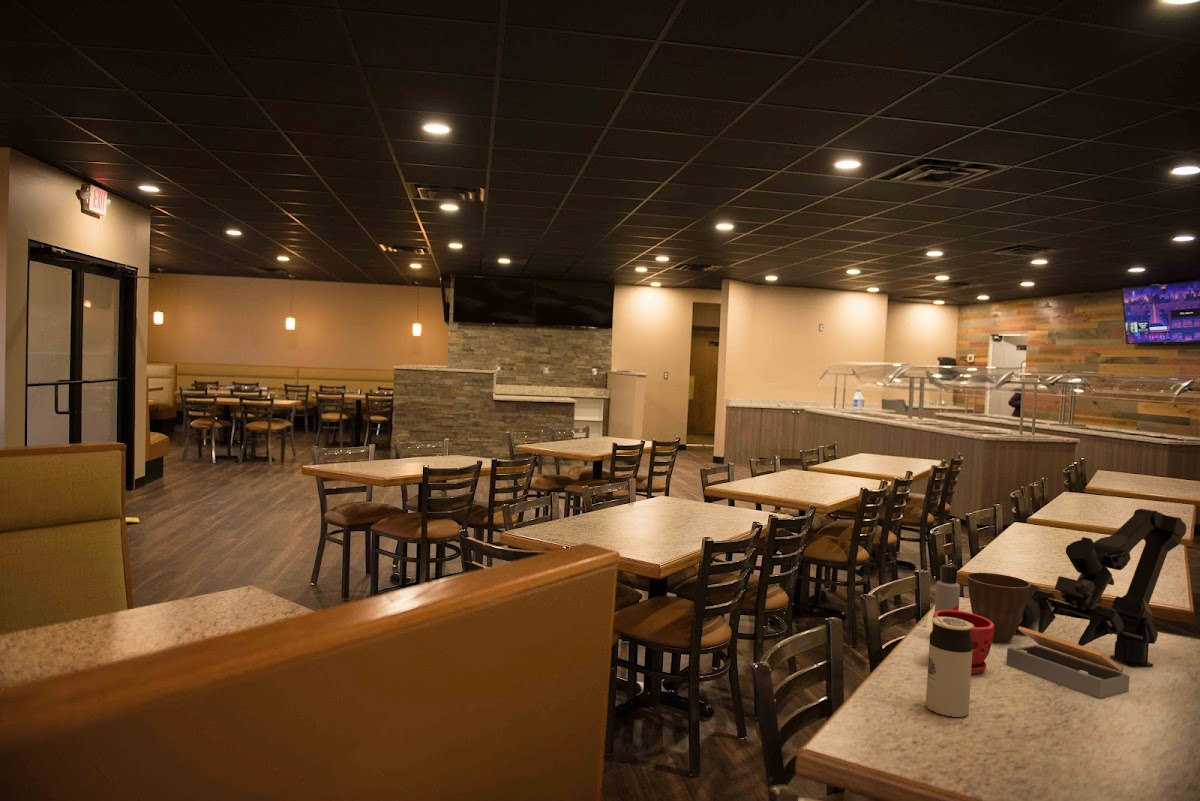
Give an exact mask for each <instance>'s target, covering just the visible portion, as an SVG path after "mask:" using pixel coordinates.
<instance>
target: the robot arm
mask: <svg viewBox="0 0 1200 801" xmlns="http://www.w3.org/2000/svg"><path fill="white" fill-rule="evenodd" d="M1186 533H1187V525H1186V523H1185V522H1184V521H1183V519H1182V518H1181V517H1178V516H1171V515H1166V514H1163V513H1162V512H1160V511H1157V510H1153V509H1152V510H1151V509H1146V508H1139V509H1138V508H1137V509H1135V510H1134V512H1133V515H1132V516H1131V517H1130V518H1129V519H1128V520H1127V521H1126V522H1124V523H1123V525H1121V526H1120V527H1119V528H1118V529H1117V530H1116V531H1115V532H1114V533H1113V534H1111V535H1109V536H1105V537H1100V538H1099V539H1097V540H1095V541H1093V539H1092V538H1089V537H1084V536H1082V538H1081V539H1080V540H1075V541H1072V543H1069V544H1068V545H1067V546H1066V548H1065V553H1066V555H1067V558H1068V559H1069V561H1070V563H1071V565H1073V567H1074V569H1075V570H1076V572H1077V573H1079V576H1078V578H1077V579H1074V578H1070V577H1065V576H1061V575H1059V576H1058V577H1057V580H1056V583H1055V587H1054V590H1056V591H1059V592H1060V593H1061V594H1060V596H1061V598H1062V599H1064V601H1062V600H1059V599H1057V598H1056V596H1055V594H1054V593H1053V592H1051V591H1046V590H1045V589H1041V588H1040V589H1041V590H1040V589H1037V590H1035V591H1034V592H1033V594H1032V595H1031V598H1032V599H1033V601H1034V602H1035V604H1036V606H1037V607H1038V609H1039V610H1040V618H1039V619H1038V628H1037V632H1039V633H1043V634H1044V632H1045V631H1046V630H1047V629H1048V628H1049V626H1050V625H1051V623H1053V621H1054V620H1055V619H1056V614H1057V613H1059V611H1064V612H1068V613H1072V614H1074V615H1079V616H1081V617H1085V618H1088V619H1089V622H1088V625H1087V626H1086V628H1085V629H1084V631H1083V633H1082V635H1081V636H1080V638H1079V640H1078V643H1077V645H1081V646H1084V647H1085V646H1086V645H1087V644H1089V643H1092V642H1093V641H1095V640H1097V639H1099V638H1102V637H1104V636H1107V635H1116V639H1115V640H1116V641H1114V654H1113V655H1112V654H1111V655H1110V656H1109V658H1110V659H1113V660H1115V661H1117V662H1119V663H1122V664H1124V665H1127V666H1129V667H1153V666H1154V664H1153V663H1151V662H1148V661H1149V660H1148V658H1149V646H1150V645H1149V644H1151V645H1154V644H1156V642H1157V640H1158V636H1159V633H1158V631H1157V629H1156V627H1155V626H1154V623H1153V622H1152V621H1153V618H1154V616H1153V612H1152V609H1151V607H1150V601H1151V599H1152V596H1153V593H1154V591H1155V588H1156V585H1157V582H1158V579H1159V577H1160V576H1161V575H1160V574H1161V572H1162V569H1163V566H1164V564H1165V560H1166V557H1167V556H1168V553H1169V552H1170V551H1171V550H1173V549H1175V548H1176V547H1178V546H1179V545H1180V543H1181V542H1182V540H1183V538H1184V536H1185V535H1186ZM1143 539H1144V542H1145V544H1144V547H1143V549H1142V552H1141V555H1140V558H1139V560H1138V562H1137V565H1136V569H1135V570H1134V572H1133V573H1134V574H1133V576H1132V578H1131V581H1130V584H1129V587H1128V589H1127V591H1126V594H1124V595H1123V596H1122V597H1120V596H1116V597H1114V599H1113V602H1112V605H1111V607H1108V606H1103V605H1101V604H1102V603H1103V601H1104V600H1103V598H1102V596H1103V594H1104V592H1105V590H1106V589H1107V587H1108V585H1109V586H1114V585H1115V581H1114V578H1113V573H1112V572H1111V571H1110V570H1109V569H1111V570H1116V571H1122V570H1124V569H1125V568H1126V566H1127V565H1128V563H1129V562H1130V561H1131V560H1132V559H1131V552H1132V550H1133V549H1134V548H1136V546H1137V545H1138V544H1139V543H1140V542H1142V540H1143ZM1097 604H1100V605H1097Z"/></svg>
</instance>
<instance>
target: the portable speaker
mask: <svg viewBox="0 0 1200 801" xmlns="http://www.w3.org/2000/svg"><path fill="white" fill-rule="evenodd" d="M1030 584H1031V585H1030V590H1029V594H1028V599H1027V603H1026V606H1025V609H1024V612H1023V615H1022V618H1021V620H1020V623H1019V625H1018V627H1017V630H1016V632H1015V634H1017V633H1019V634H1020V633H1022V632H1021V631H1020V630H1018V628H1019V626H1020V627H1024V628H1027V629H1030V628H1031V627H1032V626H1033V625H1034V624H1035V623H1036V622H1037V621H1039V618H1040V610H1039V609H1038V607H1037V606H1036V604H1035V602H1034V601H1033V599H1032V598H1031V595H1032V594H1033V592H1034V591H1035V590H1037V589H1040V590H1042V589H1041V588H1040V587H1038V586H1037V585H1034V584H1032V583H1030Z"/></svg>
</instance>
